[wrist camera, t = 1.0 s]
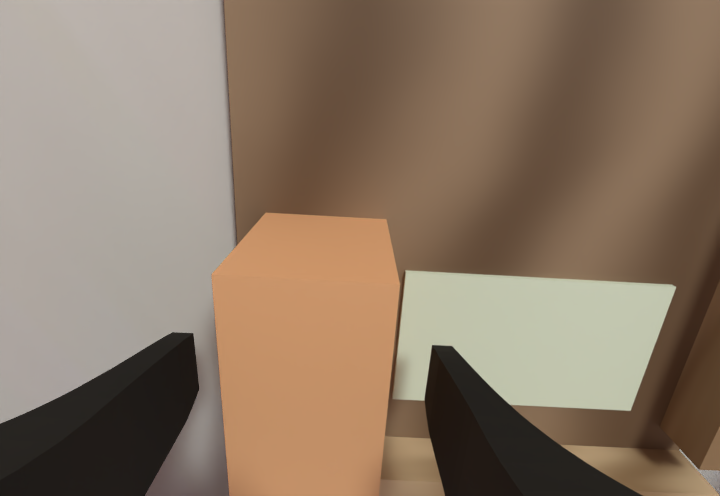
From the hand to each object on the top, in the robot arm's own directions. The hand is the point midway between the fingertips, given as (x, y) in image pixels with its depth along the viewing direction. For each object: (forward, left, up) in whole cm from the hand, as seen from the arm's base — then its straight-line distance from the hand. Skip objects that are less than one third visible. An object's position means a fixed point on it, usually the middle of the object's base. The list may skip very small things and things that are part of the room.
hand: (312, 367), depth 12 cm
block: (0, 0, -3) cm, 3 cm away
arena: (-6, -2, -3) cm, 7 cm away
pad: (-8, +1, -3) cm, 8 cm away
